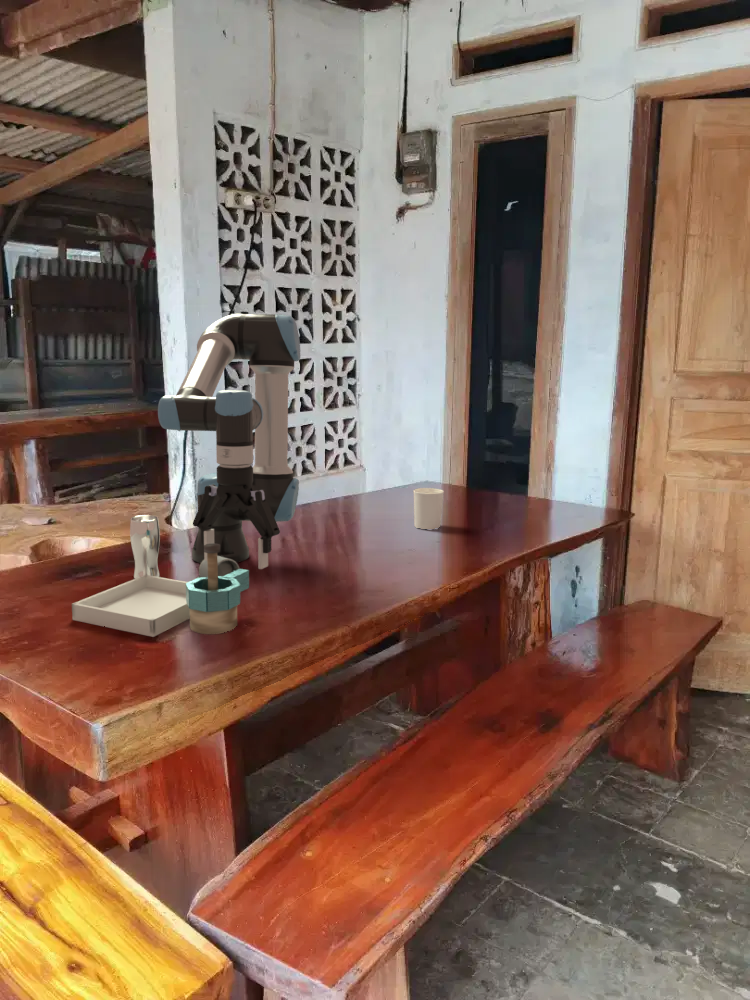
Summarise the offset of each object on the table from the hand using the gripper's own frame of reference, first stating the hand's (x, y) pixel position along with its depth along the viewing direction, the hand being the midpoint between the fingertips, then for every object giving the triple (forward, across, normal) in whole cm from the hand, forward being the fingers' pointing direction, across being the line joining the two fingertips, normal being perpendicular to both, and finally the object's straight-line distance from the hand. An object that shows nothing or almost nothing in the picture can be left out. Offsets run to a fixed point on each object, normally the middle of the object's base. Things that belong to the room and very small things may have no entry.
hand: (236, 563), depth 165 cm
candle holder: (+10, +10, +95) cm, 96 cm away
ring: (+6, 0, -5) cm, 8 cm away
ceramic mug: (+11, -14, +12) cm, 22 cm away
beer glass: (+11, -34, +12) cm, 38 cm away
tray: (+11, -18, -7) cm, 22 cm away
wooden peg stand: (+11, 0, -8) cm, 14 cm away
